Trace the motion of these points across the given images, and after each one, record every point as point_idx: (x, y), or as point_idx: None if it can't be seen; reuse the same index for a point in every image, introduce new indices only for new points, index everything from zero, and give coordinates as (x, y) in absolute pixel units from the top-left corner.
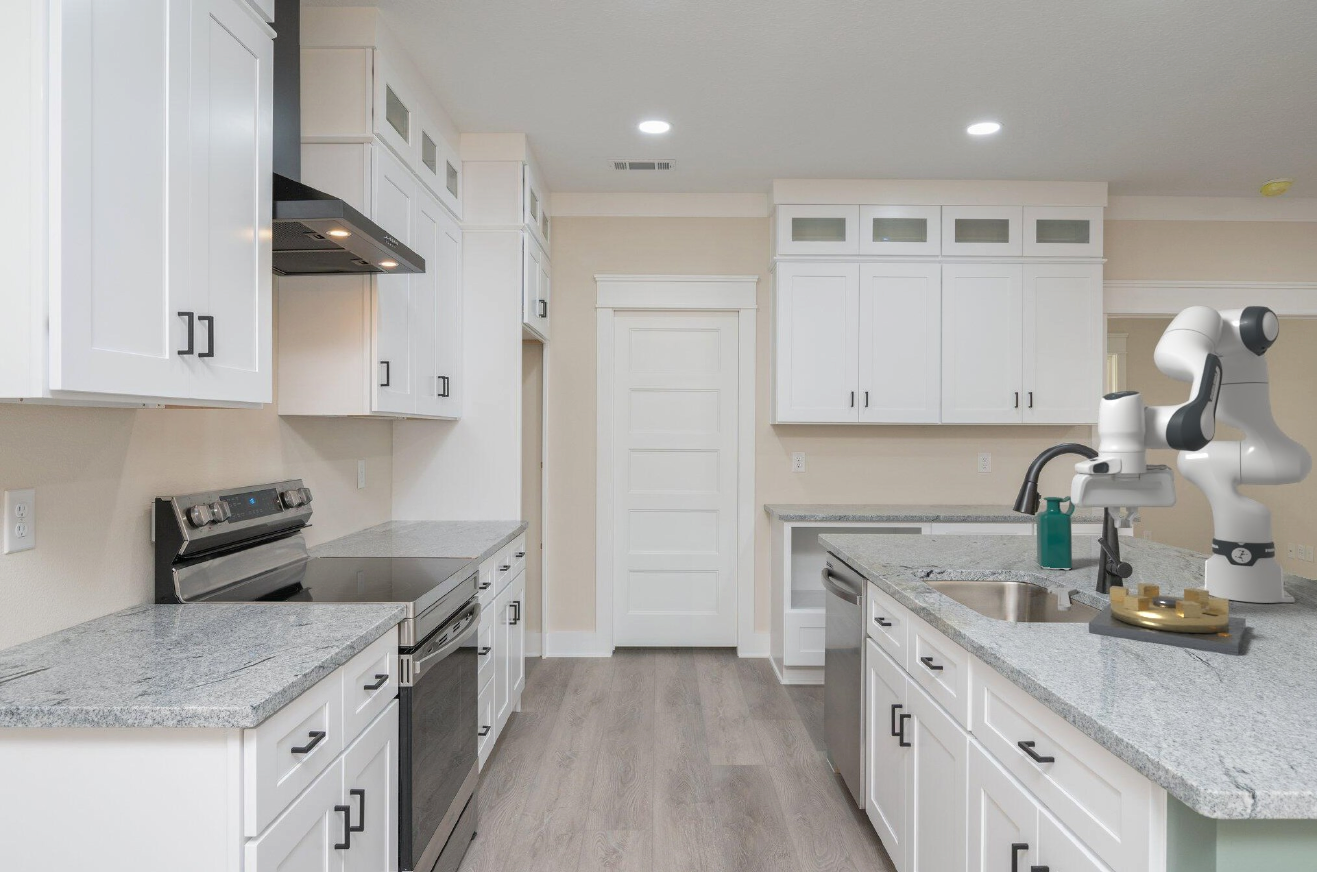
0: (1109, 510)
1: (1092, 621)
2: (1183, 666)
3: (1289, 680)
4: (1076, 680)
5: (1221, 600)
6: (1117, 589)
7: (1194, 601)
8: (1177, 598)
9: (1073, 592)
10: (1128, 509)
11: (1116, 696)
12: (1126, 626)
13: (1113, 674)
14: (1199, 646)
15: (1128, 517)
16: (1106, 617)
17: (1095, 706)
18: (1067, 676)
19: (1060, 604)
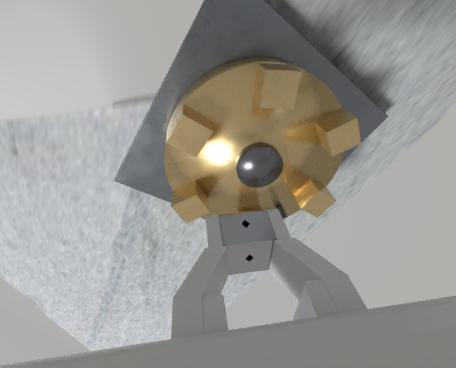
0: (175, 316)
1: (123, 169)
2: (186, 264)
3: (253, 274)
4: (78, 306)
5: (313, 213)
6: (181, 149)
7: (320, 140)
8: (317, 102)
9: None
10: (302, 316)
11: (105, 321)
12: (169, 190)
13: (114, 291)
14: None
15: (281, 267)
16: (155, 139)
17: (87, 334)
18: (71, 302)
19: None
